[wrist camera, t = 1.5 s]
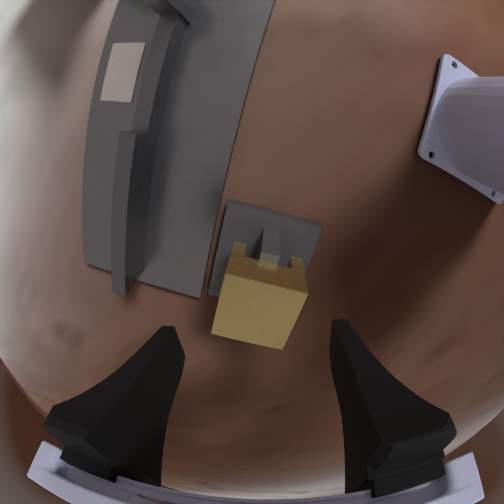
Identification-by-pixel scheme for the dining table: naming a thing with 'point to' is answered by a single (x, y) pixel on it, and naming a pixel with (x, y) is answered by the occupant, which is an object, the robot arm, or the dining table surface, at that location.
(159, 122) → the rail
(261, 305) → the clip
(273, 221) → the grey finned base plate
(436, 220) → the dining table surface
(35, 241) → the dining table surface
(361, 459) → the robot arm
